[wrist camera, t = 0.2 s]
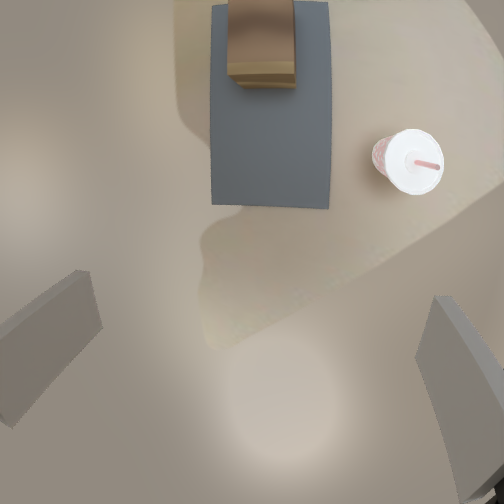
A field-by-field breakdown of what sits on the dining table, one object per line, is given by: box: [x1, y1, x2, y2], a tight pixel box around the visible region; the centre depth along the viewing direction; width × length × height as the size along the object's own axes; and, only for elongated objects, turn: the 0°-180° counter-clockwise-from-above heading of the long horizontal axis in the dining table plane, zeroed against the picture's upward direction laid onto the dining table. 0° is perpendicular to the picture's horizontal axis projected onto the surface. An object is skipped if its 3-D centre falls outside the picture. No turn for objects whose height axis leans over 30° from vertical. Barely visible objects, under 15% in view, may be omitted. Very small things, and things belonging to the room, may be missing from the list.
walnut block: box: [227, 0, 296, 89], centre depth 26 cm, size 10×6×8 cm, turn 0°
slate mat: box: [210, 1, 332, 209], centre depth 32 cm, size 26×14×1 cm, turn 0°
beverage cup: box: [372, 129, 444, 195], centre depth 26 cm, size 6×6×14 cm
